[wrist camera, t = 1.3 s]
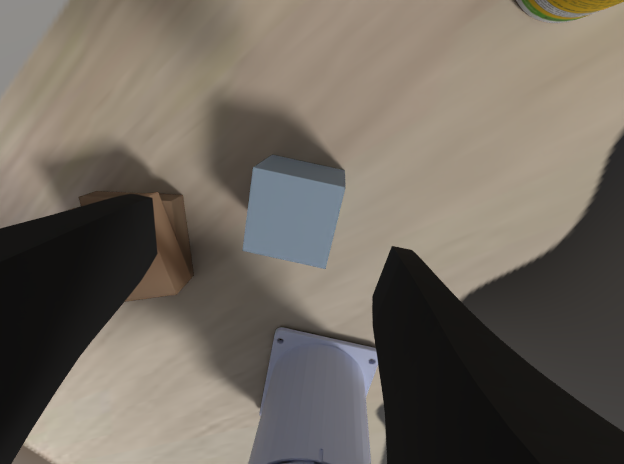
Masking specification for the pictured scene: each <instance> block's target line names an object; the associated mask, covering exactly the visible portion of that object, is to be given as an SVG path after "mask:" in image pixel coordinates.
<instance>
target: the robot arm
mask: <svg viewBox="0 0 624 464" xmlns="http://www.w3.org/2000/svg"><path fill="white" fill-rule="evenodd" d="M157 254H158V253H157V241H156V230H155V219H154V208H153V198H152V197H147V196H142V195H137V194H126V195H121V196H117V197H113V198H109V199H105V200H102V201H98V202H95V203H91V204H88V205H85V206H81V207H78V208H74V209H71V210H67V211H64V212H61V213H57V214H54V215H50V216H46V217H43V218H39V219H35V220H31V221H27V222H24V223H20V224H16V225H12V226H8V227H5V228H1V229H0V464H11V463H12V462H13V460H14V458H15V457H16V455H17V453H18V452H19V450H20V448H21V447H22V445H23V443H24V442H25V440H26V438H27V437H28V435H29V433H30V432H31V430H32V428H33V427H34V425H35V424H36V422H37V421H38V419H39V417H40V416H41V414H42V413H43V411H44V409H45V408H46V406H47V405H48V403H49V402H50V400H51V398H52V397H53V395H54V394H55V392H56V391H57V389H58V388H59V386H60V385H61V383H62V382H63V380H64V379H65V377H66V376H67V374H68V373H69V371H70V370H71V368H72V367H73V366H74V364H75V363H76V361H77V360H78V358H79V357H80V356H81V354H82V353H83V352H84V350H85V349H86V348H87V346H88V345H89V344H90V342H91V341H92V340H93V339H94V338H95V336H96V335H97V334H98V333H99V332H100V330H101V329H102V328H103V327H104V326H105V324H106V323H107V322H108V321H109V320H110V318H111V317H112V316H113V315H114V314H115V312H116V311H117V310H118V309H119V308H120V306H121V305H122V304H123V303H124V302H125V300H126V299H127V298H128V297H129V295H130V294H131V293H132V292H133V290H134V289H135V288H136V287H137V286H138V284H139V283H140V282H141V280H142V279H143V277H144V276H145V274H146V273H147V271H148V269H149V268H150V266H151V264H152V263H153V261H154V259H155V257H156V256H157ZM372 313H373V331H374V338H375V346H376V348H373V347H369V346H364V345H360V344H355V343H351V342H346V341H342V340H337V339H333V338H328V337H324V336H319V335H315V334H310V333H306V332H301V331H297V330H292V329H288V328H283V327H280V328H278V329H276V331H275V335H274V341H273V346H272V351H271V356H270V361H269V366H268V372H267V377H266V382H265V387H264V392H263V398H262V403H261V408H260V416H261V417H260V421H259V425H258V429H257V432H256V436H255V440H254V444H253V448H252V451H251V455H250V459H249V463H248V464H371V456H370V444H369V431H368V419H367V407H366V396H367V393H368V390H369V387H370V385H371V382H372V379H373V377H374V374H375V371H376V368H377V366H379V373H380V379H381V386H382V393H383V401H384V410H385V425H386V445H387V464H624V432H623V431H622V430H620V429H618V428H617V427H616V426H614V425H612V424H611V423H610V422H608V421H607V420H605V419H604V418H602V417H601V416H599V415H598V414H596V413H595V412H594V411H592V410H591V409H589V408H588V407H586V406H585V405H584V404H582V403H581V402H579V401H578V400H576V399H575V398H574V397H573V396H571V395H570V394H568V393H567V392H566V391H564V390H563V389H561V388H560V387H559V386H557V385H556V384H555V383H554V382H552V381H551V380H550V379H548V378H547V377H546V376H544V375H543V374H542V373H540V372H539V371H538V370H537V369H535V368H534V367H533V366H531V365H530V364H529V363H528V362H526V361H525V360H524V359H523V358H522V357H521V356H519V355H518V354H517V353H516V352H515V351H513V350H512V349H511V348H510V347H509V346H507V345H506V344H505V343H504V342H503V341H502V340H500V339H499V338H498V337H497V336H496V335H495V334H494V333H493V332H492V331H490V330H489V329H488V328H487V327H486V326H485V325H484V324H483V323H482V322H481V321H480V320H479V319H478V318H477V317H476V316H475V315H474V314H472V313H471V311H469V310H468V309H467V308H466V307H465V306H464V305H463V303H462V302H461V301H460V300H459V299H458V298H457V297H456V296H455V295H454V294H453V293H452V292H451V291H450V290H449V289H448V288H447V287H446V286H445V285H444V283H443V282H442V281H441V280H440V279H439V278H438V277H437V276H436V275H435V274H434V273H433V271H432V270H431V269H430V268H429V267H428V266H427V265H426V264H425V263H424V262H423V261H422V259H421V258H420V257H419V256H418V255H417V254H416V253H415V252H413V251H412V250H409V249H404V248H399V247H394V246H392V247H391V250H390V253H389V255H388V258H387V260H386V263H385V265H384V268H383V271H382V273H381V276H380V278H379V281H378V283H377V286H376V288H375V291H374V294H373V305H372ZM278 338H281V339H283V340H279V339H278ZM370 359H374V360H370Z"/></svg>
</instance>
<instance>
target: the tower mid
mask: <svg viewBox="0 0 624 464" xmlns="http://www.w3.org/2000/svg"><path fill="white" fill-rule="evenodd" d="M142 196H147V197H152V198H153V208H154V219H155V230H156V241H157V253H158V254H157V256H156V257H155V259H154V261H153V263H152V264H151V266H150V268H149V269H148V271H147V273H146V274H145V276H144V277H143V279H142V280H141V282H140V283H139V284H138V286H137V287H136V288H135V289H134V290H133V292H132V293H131V294H130V295H129V297H128V298H127V299H126V300H125V302H126V301H133V300H140V299H148V298H155V297H162V296H170V295H177V294H178V293H179V291H180V290H181V289H182V288H183V287H184V286H185V285H186V284H187V282H188V281H189V280H190V279H191V276H190V273H189V270H188V268H187V265H186V263H185V260H184V258H183V255H182V252H181V250H180V247H179V245H178V242H177V240H176V237H175V234H174V232H173V229H172V227H171V224H170V222H169V219H168V216H167V214H166V211H165V209H164V206H163V204H162V201H161V198H160V196H159V193H158V192H154V193H149V194H144V195H142ZM77 208H78V207H77ZM73 209H74V208H73ZM70 210H71V209H70Z"/></svg>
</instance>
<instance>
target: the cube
mask: <svg viewBox="0 0 624 464" xmlns="http://www.w3.org/2000/svg"><path fill="white" fill-rule="evenodd" d="M344 191H345V170H341V169H336V168H332V167H327V166H322V165H318V164H313V163H309V162H304V161H299V160H295V159H290V158H286V157H281V156H276V155H271V156H269V157H268V158H266V159H265V160H263V161H262V162H260V163H259V164H257V165H256V166H254V167H253V173H252V180H251V188H250V196H249V204H248V212H247V220H246V228H245V235H244V243H243V251H246V252H251V253H255V254H260V255H264V256H269V257H273V258H278V259H282V260H287V261H292V262H296V263H301V264H305V265H310V266H314V267H319V268H323V269H326V265H327V261H328V256H329V252H330V248H331V244H332V240H333V236H334V232H335V228H336V224H337V220H338V216H339V212H340V207H341V203H342V199H343V195H344Z"/></svg>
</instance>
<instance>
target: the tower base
mask: <svg viewBox="0 0 624 464" xmlns="http://www.w3.org/2000/svg"><path fill="white" fill-rule="evenodd" d="M126 194H137V195H144V194H149V193H126V192H102V191H95V192H92V193H89V194H86V195H83V196H80V197H79V200H80V204H81V206H85V205H88V204H91V203H95V202H98V201H102V200H105V199H109V198H113V197H117V196H121V195H126ZM159 196H160V198H161V201H162V204H163V206H164V209H165V211H166V214H167V216H168V219H169V222H170V224H171V227H172V229H173V232H174V234H175V237H176V240H177V242H178V245H179V247H180V250H181V252H182V255H183V258H184V260H185V263H186V265H187V268H188V270H189V273H190V276H191V278H192V277H193V276H194V273H193V265H192V258H191V251H190V243H189V236H188V229H187V222H186V214H185V207H184V200H183V195H174V194H159ZM188 282H189V281H188ZM188 282H187V283H188Z"/></svg>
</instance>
